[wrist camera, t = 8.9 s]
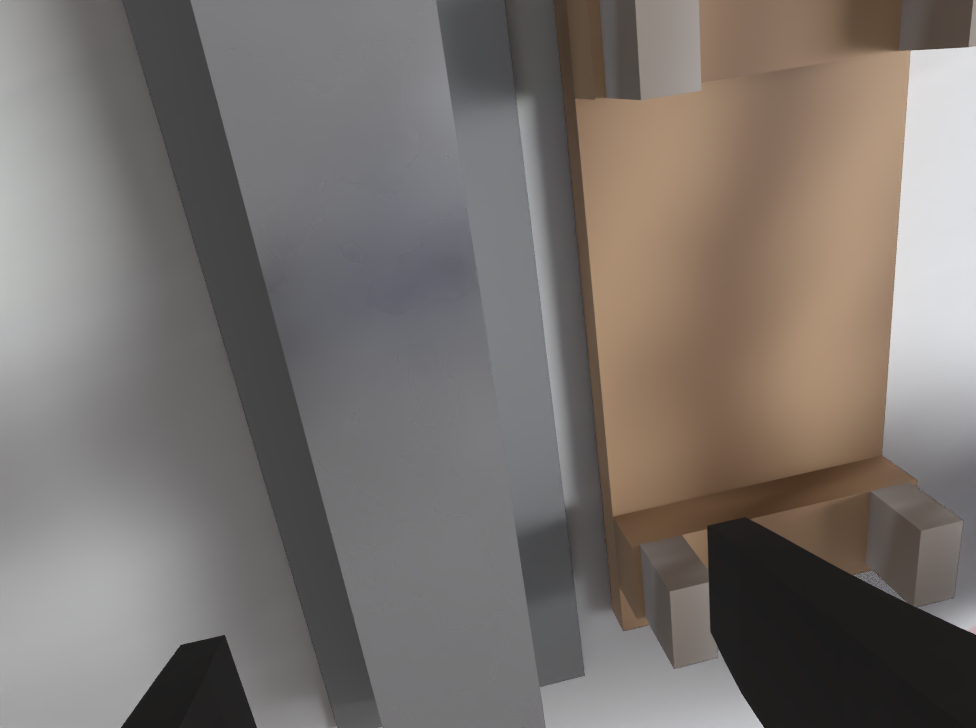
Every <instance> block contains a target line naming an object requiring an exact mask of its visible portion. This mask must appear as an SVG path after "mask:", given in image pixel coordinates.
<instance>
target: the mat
mask: <svg viewBox="0 0 976 728" xmlns="http://www.w3.org/2000/svg"><path fill="white" fill-rule="evenodd" d="M123 4H124V7H125V10H126V14H127V17H128V20H129V24H130V27H131V31H132V34H133V37H134V41H135V44H136V48H137V51H138V54H139V58H140V61H141V64H142V68H143V71H144V75H145V78H146V81H147V85H148V88H149V91H150V95H151V98H152V102H153V105H154V108H155V112H156V115H157V119H158V122H159V125H160V129H161V132H162V135H163V139H164V142H165V146H166V149H167V152H168V156H169V159H170V162H171V166H172V169H173V173H174V176H175V179H176V183H177V186H178V190H179V193H180V196H181V200H182V203H183V206H184V210H185V213H186V217H187V220H188V223H189V227H190V230H191V233H192V237H193V240H194V244H195V247H196V250H197V254H198V257H199V261H200V264H201V267H202V271H203V274H204V277H205V281H206V284H207V288H208V291H209V294H210V298H211V301H212V304H213V308H214V311H215V315H216V318H217V321H218V325H219V328H220V332H221V335H222V338H223V342H224V345H225V348H226V352H227V355H228V359H229V362H230V365H231V369H232V372H233V375H234V379H235V382H236V386H237V389H238V392H239V396H240V399H241V403H242V406H243V409H244V413H245V416H246V419H247V423H248V426H249V430H250V433H251V436H252V440H253V443H254V446H255V450H256V453H257V457H258V460H259V463H260V467H261V470H262V474H263V477H264V480H265V484H266V487H267V490H268V494H269V497H270V501H271V504H272V507H273V511H274V514H275V517H276V521H277V524H278V528H279V531H280V534H281V538H282V541H283V545H284V548H285V551H286V555H287V558H288V561H289V565H290V568H291V572H292V575H293V578H294V582H295V585H296V588H297V592H298V595H299V599H300V602H301V605H302V609H303V612H304V616H305V619H306V622H307V626H308V629H309V632H310V636H311V639H312V643H313V646H314V649H315V653H316V656H317V659H318V663H319V666H320V670H321V673H322V676H323V680H324V683H325V687H326V690H327V693H328V697H329V700H330V703H331V707H332V710H333V714H334V717H335V720H336V724H337V727H338V728H378V727H382V723H381V719H380V716H379V712H378V708H377V704H376V701H375V697H374V693H373V689H372V685H371V682H370V678H369V674H368V670H367V666H366V663H365V659H364V655H363V651H362V648H361V644H360V640H359V636H358V632H357V629H356V625H355V621H354V617H353V614H352V610H351V606H350V602H349V598H348V595H347V591H346V587H345V583H344V579H343V576H342V572H341V568H340V564H339V561H338V557H337V553H336V549H335V545H334V542H333V538H332V534H331V530H330V526H329V523H328V519H327V515H326V511H325V508H324V504H323V500H322V496H321V492H320V489H319V485H318V481H317V477H316V474H315V470H314V466H313V462H312V458H311V455H310V451H309V447H308V443H307V439H306V436H305V432H304V428H303V424H302V421H301V417H300V413H299V409H298V405H297V402H296V398H295V394H294V390H293V387H292V383H291V379H290V375H289V371H288V368H287V364H286V360H285V356H284V352H283V349H282V345H281V341H280V337H279V334H278V330H277V326H276V322H275V318H274V315H273V311H272V307H271V303H270V299H269V296H268V292H267V288H266V284H265V281H264V277H263V273H262V269H261V265H260V262H259V258H258V254H257V250H256V247H255V243H254V239H253V235H252V231H251V228H250V224H249V220H248V216H247V212H246V209H245V205H244V201H243V197H242V194H241V190H240V186H239V182H238V178H237V175H236V171H235V167H234V163H233V160H232V156H231V152H230V148H229V144H228V141H227V137H226V133H225V129H224V125H223V122H222V118H221V114H220V110H219V107H218V103H217V99H216V95H215V91H214V88H213V84H212V80H211V76H210V72H209V69H208V65H207V61H206V57H205V54H204V50H203V46H202V42H201V38H200V35H199V31H198V27H197V23H196V20H195V16H194V12H193V8H192V4H191V1H190V0H123ZM436 4H437V11H438V17H439V24H440V31H441V37H442V44H443V50H444V57H445V64H446V70H447V77H448V84H449V90H450V97H451V104H452V110H453V117H454V123H455V130H456V137H457V143H458V150H459V157H460V163H461V170H462V177H463V183H464V190H465V196H466V203H467V210H468V216H469V223H470V230H471V236H472V243H473V250H474V256H475V263H476V269H477V276H478V283H479V289H480V296H481V303H482V309H483V316H484V323H485V329H486V336H487V342H488V349H489V356H490V362H491V369H492V376H493V382H494V389H495V396H496V402H497V409H498V415H499V422H500V429H501V435H502V442H503V449H504V455H505V462H506V469H507V475H508V482H509V489H510V495H511V502H512V508H513V515H514V522H515V528H516V535H517V542H518V548H519V555H520V562H521V568H522V575H523V581H524V588H525V595H526V601H527V608H528V615H529V621H530V628H531V635H532V641H533V648H534V654H535V661H536V668H537V674H538V681H539V687H541V686H545V685H549V684H553V683H557V682H561V681H565V680H569V679H573V678H577V677H581V676H585V674H584V665H583V657H582V649H581V640H580V632H579V623H578V615H577V607H576V598H575V590H574V581H573V573H572V565H571V556H570V548H569V539H568V531H567V522H566V514H565V506H564V497H563V489H562V480H561V472H560V464H559V455H558V447H557V438H556V430H555V422H554V413H553V405H552V396H551V388H550V380H549V371H548V363H547V354H546V346H545V338H544V329H543V321H542V312H541V304H540V296H539V287H538V279H537V270H536V262H535V254H534V245H533V237H532V228H531V220H530V212H529V203H528V195H527V186H526V178H525V170H524V161H523V153H522V144H521V136H520V128H519V119H518V111H517V102H516V94H515V86H514V77H513V69H512V60H511V52H510V44H509V35H508V27H507V18H506V10H505V2H504V0H436Z"/></svg>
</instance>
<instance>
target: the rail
mask: <svg viewBox="0 0 976 728" xmlns="http://www.w3.org/2000/svg"><path fill="white" fill-rule="evenodd" d="M190 1H191V4H192V8H193V12H194V16H195V20H196V23H197V27H198V31H199V35H200V38H201V42H202V46H203V50H204V54H205V57H206V61H207V65H208V69H209V72H210V76H211V80H212V84H213V88H214V91H215V95H216V99H217V103H218V107H219V110H220V114H221V118H222V122H223V125H224V129H225V133H226V137H227V141H228V144H229V148H230V152H231V156H232V160H233V163H234V167H235V171H236V175H237V178H238V182H239V186H240V190H241V194H242V197H243V201H244V205H245V209H246V212H247V216H248V220H249V224H250V228H251V231H252V235H253V239H254V243H255V247H256V250H257V254H258V258H259V262H260V265H261V269H262V273H263V277H264V281H265V284H266V288H267V292H268V296H269V299H270V303H271V307H272V311H273V315H274V318H275V322H276V326H277V330H278V334H279V337H280V341H281V345H282V349H283V352H284V356H285V360H286V364H287V368H288V371H289V375H290V379H291V383H292V387H293V390H294V394H295V398H296V402H297V405H298V409H299V413H300V417H301V421H302V424H303V428H304V432H305V436H306V439H307V443H308V447H309V451H310V455H311V458H312V462H313V466H314V470H315V474H316V477H317V481H318V485H319V489H320V492H321V496H322V500H323V504H324V508H325V511H326V515H327V519H328V523H329V526H330V530H331V534H332V538H333V542H334V545H335V549H336V553H337V557H338V561H339V564H340V568H341V572H342V576H343V579H344V583H345V587H346V591H347V595H348V598H349V602H350V606H351V610H352V614H353V617H354V621H355V625H356V629H357V632H358V636H359V640H360V644H361V648H362V651H363V655H364V659H365V663H366V666H367V670H368V674H369V678H370V682H371V685H372V689H373V693H374V697H375V701H376V704H377V708H378V712H379V716H380V719H381V723H382V727H383V728H546V727H545V721H544V714H543V708H542V701H541V694H540V688H539V681H538V674H537V668H536V661H535V654H534V648H533V641H532V635H531V628H530V621H529V615H528V608H527V601H526V595H525V588H524V581H523V575H522V568H521V562H520V555H519V548H518V542H517V535H516V528H515V522H514V515H513V508H512V502H511V495H510V489H509V482H508V475H507V469H506V462H505V455H504V449H503V442H502V435H501V429H500V422H499V415H498V409H497V402H496V396H495V389H494V382H493V376H492V369H491V362H490V356H489V349H488V342H487V336H486V329H485V323H484V316H483V309H482V303H481V296H480V289H479V283H478V276H477V269H476V263H475V256H474V250H473V243H472V236H471V230H470V223H469V216H468V210H467V203H466V196H465V190H464V183H463V177H462V170H461V163H460V157H459V150H458V143H457V137H456V130H455V123H454V117H453V110H452V104H451V97H450V90H449V84H448V77H447V70H446V64H445V57H444V50H443V44H442V37H441V31H440V24H439V17H438V11H437V4H436V0H190Z"/></svg>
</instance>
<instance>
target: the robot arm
mask: <svg viewBox="0 0 976 728" xmlns="http://www.w3.org/2000/svg"><path fill="white" fill-rule="evenodd" d="M707 538H708V572H709V606H710V632H711V634H712V636H713V638H714V640H715V642H716V644H717V646H718V648H719V650H720V652H721V654H722V656H723V658H724V661H725V663H726V665H727V667H728V668H729V670H730V672H731V674H732V676H733V678H734V680H735V682H736V684H737V686H738V687H739V689H740V691H741V693H742V695H743V696H744V698H745V699H746V701H747V702H748V704H749V705H750V707H751V708H752V710H753V712H754V713H755V715H756V716H757V718H758V719H759V721H760V722H761V724H762V725H763V727H764V728H976V635H975V634H973V633H971V632H968V631H966V630H964V629H961V628H959V627H957V626H955V625H953V624H950V623H948V622H946V621H944V620H942V619H940V618H938V617H936V616H933V615H931V614H929V613H927V612H925V611H923V610H921V609H918V608H916V607H914V606H912V605H910V604H908V603H906V602H904V601H902V600H900V599H898V598H896V597H894V596H892V595H890V594H888V593H886V592H884V591H882V590H880V589H878V588H876V587H874V586H872V585H870V584H868V583H866V582H864V581H863V580H861V579H859V578H857V577H855V576H853V575H851V574H849V573H847V572H846V571H844V570H842V569H840V568H838V567H836V566H834V565H833V564H831V563H829V562H827V561H825V560H823V559H822V558H820V557H818V556H816V555H814V554H813V553H811V552H809V551H807V550H805V549H803V548H802V547H800V546H798V545H796V544H794V543H793V542H791V541H789V540H787V539H785V538H784V537H782V536H780V535H778V534H776V533H775V532H773V531H771V530H769V529H767V528H765V527H763V526H762V525H760V524H758V523H756V522H754V521H752V520H750V519H748V518H746V517H743V518H739V519H734V520H730V521H725V522H721V523H717V524H712V525H708V526H707ZM121 728H257V727H256V724H255V721H254V718H253V715H252V712H251V709H250V707H249V704H248V701H247V698H246V695H245V692H244V689H243V686H242V683H241V681H240V678H239V675H238V672H237V669H236V666H235V663H234V660H233V657H232V654H231V652H230V649H229V646H228V643H227V640H226V637H225V635H223V636H218V637H214V638H209V639H205V640H201V641H196V642H192V643H187V644H183V645H180V647H179V648H178V649H177V651H176V652H175V654H174V655H173V656H172V658H171V659H170V660H169V662H168V663H167V664H166V666H165V667H164V668H163V670H162V671H161V673H160V674H159V675H158V677H157V678H156V680H155V681H154V682H153V684H152V685H151V686H150V688H149V689H148V691H147V692H146V694H145V695H144V696H143V698H142V699H141V701H140V702H139V703H138V705H137V706H136V707H135V709H134V710H133V712H132V713H131V714H130V716H129V717H128V719H127V720H126V721H125V723H124V724H123V726H122V727H121Z"/></svg>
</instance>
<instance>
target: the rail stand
mask: <svg viewBox="0 0 976 728" xmlns="http://www.w3.org/2000/svg"><path fill="white" fill-rule="evenodd" d="M554 5H555V15H556V26H557V36H558V47H559V57H560V68H561V78H562V88H563V99H564V109H565V120H566V130H567V140H568V151H569V161H570V172H571V182H572V193H573V203H574V213H575V224H576V234H577V245H578V255H579V265H580V276H581V286H582V297H583V307H584V317H585V328H586V338H587V349H588V359H589V370H590V380H591V390H592V401H593V411H594V422H595V432H596V442H597V453H598V463H599V474H600V484H601V495H602V505H603V515H604V526H605V536H606V547H607V557H608V567H609V578H610V588H611V599H612V609H613V612H614V614H615V616H616V618H617V620H618V622H619V624H620V626H621V628H622V630H623V631H627V630H631V629H635V628H639V627H643V626H647V625H650V626H651V628H652V630H653V632H654V633H655V635H656V637H657V639H658V641H659V642H660V644H661V646H662V648H663V650H664V651H665V653H666V655H667V657H668V659H669V660H670V662H671V664H672V666H673V668H674V669H676V668H680V667H684V666H688V665H692V664H696V663H700V662H704V661H708V660H712V659H715V658H718V646H717V644H716V642H715V640H714V638H713V636H712V634H711V632H710V606H709V572H708V538H707V526H708V525H712V524H717V523H721V522H725V521H730V520H734V519H739V518H743V517H746V518H748V519H750V520H752V521H754V522H756V523H758V524H760V525H762V526H763V527H765V528H767V529H769V530H771V531H773V532H775V533H776V534H778V535H780V536H782V537H784V538H785V539H787V540H789V541H791V542H793V543H794V544H796V545H798V546H800V547H802V548H803V549H805V550H807V551H809V552H811V553H813V554H814V555H816V556H818V557H820V558H822V559H823V560H825V561H827V562H829V563H831V564H833V565H834V566H836V567H838V568H840V569H842V570H844V571H846V572H847V573H849V574H851V575H854V574H858V573H862V572H867V571H871V570H873V571H874V572H875V573H876V574H877V575H878V576H880V577H881V578H882V579H883V580H884V581H885V582H886V583H887V584H888V585H889V586H890V587H891V588H892V589H894V590H895V591H896V592H897V593H898V594H899V595H900V596H901V597H902V598H903V599H904V600H905V601H906V602H908V603H909V604H910V605H912V606H914V607H920V606H924V605H928V604H932V603H936V602H940V601H944V600H948V599H952V598H954V594H955V585H956V577H957V569H958V561H959V553H960V545H961V537H962V529H963V520H962V519H960V518H959V517H958V516H956V515H955V514H953V513H952V512H951V511H949V510H948V509H946V508H945V507H944V506H942V505H941V504H939V503H938V502H937V501H935V500H934V499H932V498H931V497H930V496H928V495H927V494H925V493H924V492H922V491H921V490H920V489H918V488H917V480H916V479H915V478H913V477H912V476H911V475H909V474H908V473H906V472H905V471H903V470H902V469H901V468H899V467H898V466H896V465H895V464H893V463H892V462H891V461H889V460H888V459H886V458H885V457H883V456H882V448H883V434H884V419H885V405H886V391H887V377H888V363H889V349H890V335H891V320H892V306H893V292H894V278H895V264H896V250H897V235H898V221H899V207H900V193H901V179H902V165H903V151H904V136H905V122H906V108H907V94H908V80H909V66H910V51H911V50H926V49H944V48H962V47H972V46H976V0H554Z"/></svg>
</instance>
